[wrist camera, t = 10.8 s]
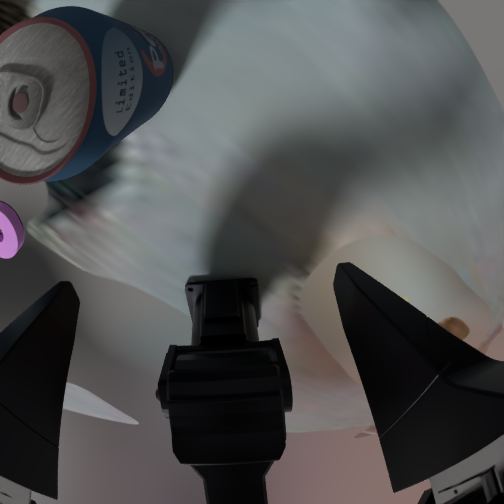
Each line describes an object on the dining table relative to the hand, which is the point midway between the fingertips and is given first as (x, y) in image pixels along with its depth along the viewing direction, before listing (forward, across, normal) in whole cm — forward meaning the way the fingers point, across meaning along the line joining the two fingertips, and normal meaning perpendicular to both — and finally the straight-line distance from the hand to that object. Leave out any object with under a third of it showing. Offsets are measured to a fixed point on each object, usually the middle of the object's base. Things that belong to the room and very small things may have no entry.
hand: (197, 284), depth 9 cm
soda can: (+13, +5, -7) cm, 16 cm away
